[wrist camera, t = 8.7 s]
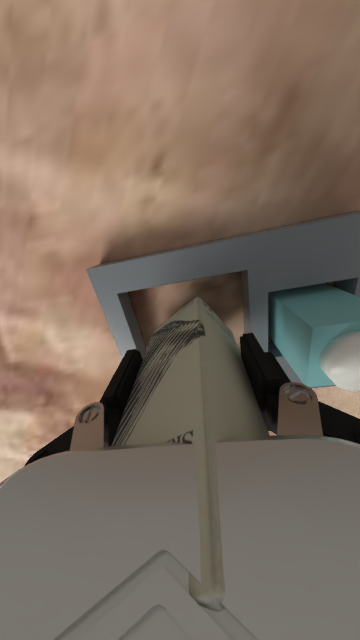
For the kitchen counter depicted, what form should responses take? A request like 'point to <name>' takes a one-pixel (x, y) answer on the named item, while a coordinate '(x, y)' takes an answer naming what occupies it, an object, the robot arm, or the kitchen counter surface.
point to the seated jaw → (318, 334)
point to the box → (194, 416)
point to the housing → (233, 256)
